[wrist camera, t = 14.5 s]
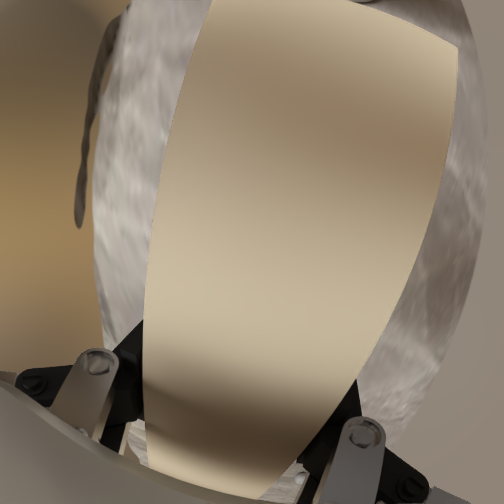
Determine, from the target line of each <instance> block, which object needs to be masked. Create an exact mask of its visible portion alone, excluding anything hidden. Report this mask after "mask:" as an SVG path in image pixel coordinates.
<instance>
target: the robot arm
mask: <svg viewBox="0 0 504 504" xmlns="http://www.w3.org/2000/svg"><path fill="white" fill-rule="evenodd" d="M348 1H351V2H368V1H373V0H348ZM143 320H144V319H143ZM143 320H142V321H141V322H140V323H139V324H138V325H137V326H136V327H135V328H134V329H133V330H132V331H131V332H130V333H129V334H128V335H127V336H126V337H125V338H124V339H123V341H122V342H121V343H120V344H119V345H118V346H117V347H116V348H115V349H114V350H113V351H110V350H108V349H105V348H91V349H88V350H86V351H84V352H83V353H81V354H80V355H79V357H78V358H77V360H76V361H75V363H74V365H68V366H57V367H46V368H32V369H27V370H25V371H23V372H22V373H21V374H19V375H18V374H17V373H16V372H7V371H0V504H283V503H275V502H268V501H262V500H256V499H251V498H245V497H241V496H236V495H231V494H227V493H223V492H219V491H215V490H211V489H208V488H204V487H201V486H198V485H194V484H191V483H188V482H185V481H182V480H179V479H176V478H174V477H171V476H168V475H166V474H163V473H160V472H158V471H155V470H153V469H151V468H148V467H146V466H144V465H141V464H139V463H137V462H135V461H133V460H130V459H128V458H126V457H124V456H123V454H124V449H125V445H126V441H127V437H128V433H129V429H130V425H131V422H133V421H136V420H137V419H140V420H143V421H145V418H144V401H143ZM385 442H386V433H385V431H384V429H383V427H382V426H381V425H380V424H379V423H378V422H377V421H375V420H374V419H371V418H369V417H363V416H362V412H361V405H360V398H359V392H358V386H357V380H356V379H355V381H354V382H353V384H352V385H351V387H350V388H349V390H348V391H347V393H346V394H345V396H344V397H343V399H342V400H341V402H340V403H339V405H338V406H337V408H336V409H335V410H334V412H333V413H332V415H331V416H330V417H329V419H328V420H327V421H326V423H325V424H324V425H323V427H322V428H321V429H320V431H319V432H318V433H317V434H316V436H315V437H314V438H313V439H312V441H311V442H310V443H309V444H308V446H307V447H306V448H305V449H304V450H303V452H302V453H301V454H300V455H299V456H298V457H297V461H296V463H301V464H303V467H304V468H305V469H306V470H307V471H308V472H307V474H306V477H305V479H304V481H303V483H302V486H301V488H300V490H299V492H298V494H297V497H296V499H295V501H294V503H293V504H471V503H469V502H468V501H466V500H463V499H461V498H459V497H456V496H454V495H452V494H450V493H447V492H445V491H443V490H441V489H439V488H437V487H435V486H434V487H432V488H430V487H429V483H428V481H427V479H426V478H425V477H424V476H423V475H422V474H421V473H420V472H418V471H417V470H416V469H414V468H413V467H411V466H410V465H409V464H407V463H406V462H405V461H403V460H402V459H401V458H399V457H398V456H396V455H395V454H394V453H392V452H391V451H390V450H389V449H387V448H386V447H385Z"/></svg>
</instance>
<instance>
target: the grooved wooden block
mask: <svg viewBox="0 0 504 504" xmlns="http://www.w3.org/2000/svg"><path fill="white" fill-rule="evenodd" d="M457 70H458V48H457V47H455V46H453V45H452V44H450V43H448V42H447V41H445V40H443V39H441V38H439V37H437V36H436V35H434V34H432V33H430V32H428V31H426V30H424V29H422V28H420V27H418V26H416V25H413V24H411V23H409V22H407V21H404V20H402V19H400V18H397V17H395V16H392V15H390V14H387V13H385V12H382V11H379V10H376V9H373V8H371V7H368V6H365V5H361V4H358V3H355V2H351V1H348V0H213V1H212V3H211V6H210V8H209V10H208V13H207V15H206V18H205V20H204V23H203V25H202V28H201V31H200V33H199V36H198V39H197V41H196V44H195V47H194V50H193V53H192V56H191V59H190V62H189V65H188V68H187V71H186V74H185V77H184V81H183V84H182V87H181V91H180V94H179V98H178V101H177V105H176V109H175V113H174V116H173V120H172V124H171V128H170V133H169V137H168V141H167V146H166V150H165V155H164V160H163V164H162V169H161V175H160V180H159V185H158V191H157V197H156V203H155V209H154V216H153V223H152V230H151V238H150V246H149V255H148V264H147V275H146V287H145V301H144V320H143V401H144V418H145V432H146V443H147V452H148V461H149V468H151V469H153V470H155V471H158V472H160V473H163V474H166V475H168V476H171V477H174V478H176V479H179V480H182V481H185V482H188V483H191V484H194V485H198V486H201V487H204V488H208V489H211V490H215V491H219V492H223V493H227V494H231V495H236V496H241V497H245V498H251V499H256V500H257V499H258V498H259V497H260V496H261V495H262V494H263V493H264V492H265V491H266V490H267V489H268V488H269V487H270V486H271V485H272V484H273V483H274V482H275V481H276V480H277V479H278V478H279V477H280V476H281V475H282V474H283V473H284V472H285V471H286V470H287V469H288V468H289V466H290V465H291V464H292V463H293V462H294V461H295V460H296V459H297V457H298V456H299V455H300V454H301V453H302V452H303V450H304V449H305V448H306V447H307V446H308V444H309V443H310V442H311V441H312V439H313V438H314V437H315V436H316V434H317V433H318V432H319V431H320V429H321V428H322V427H323V425H324V424H325V423H326V421H327V420H328V419H329V417H330V416H331V415H332V413H333V412H334V410H335V409H336V408H337V406H338V405H339V403H340V402H341V400H342V399H343V397H344V396H345V394H346V393H347V391H348V390H349V388H350V387H351V385H352V384H353V382H354V381H355V379H356V378H357V376H358V374H359V373H360V371H361V369H362V368H363V366H364V364H365V363H366V361H367V359H368V358H369V356H370V354H371V353H372V351H373V349H374V347H375V345H376V344H377V342H378V340H379V338H380V336H381V334H382V333H383V331H384V329H385V327H386V325H387V323H388V321H389V319H390V317H391V315H392V313H393V311H394V309H395V307H396V305H397V302H398V300H399V298H400V296H401V294H402V292H403V289H404V287H405V285H406V282H407V280H408V278H409V275H410V273H411V271H412V268H413V266H414V263H415V261H416V258H417V255H418V253H419V250H420V247H421V245H422V242H423V239H424V236H425V233H426V230H427V227H428V224H429V221H430V218H431V215H432V212H433V208H434V205H435V201H436V198H437V194H438V191H439V187H440V183H441V179H442V175H443V171H444V166H445V162H446V157H447V152H448V147H449V141H450V136H451V130H452V123H453V116H454V108H455V98H456V87H457Z"/></svg>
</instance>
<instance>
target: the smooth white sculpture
mask: <svg viewBox="0 0 504 504" xmlns="http://www.w3.org/2000/svg"><path fill="white" fill-rule="evenodd" d="M306 474H307V472H305V473H299V474H297V475H296V476H295V482H296V483H297V484H300V485H302V483H303V481H304V479H305V477H306Z"/></svg>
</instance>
